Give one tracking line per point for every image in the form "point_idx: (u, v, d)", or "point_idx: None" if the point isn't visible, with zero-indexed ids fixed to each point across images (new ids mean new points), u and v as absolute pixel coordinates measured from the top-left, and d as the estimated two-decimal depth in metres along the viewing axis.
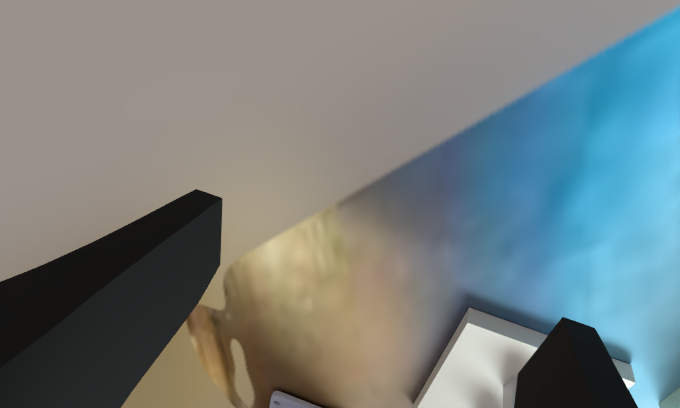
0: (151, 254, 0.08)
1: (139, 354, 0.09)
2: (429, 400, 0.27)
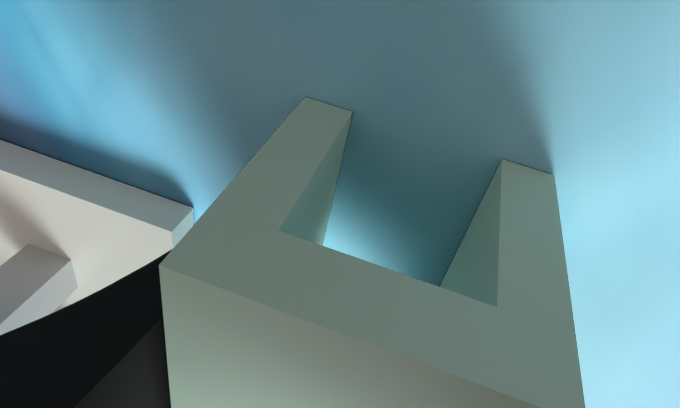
0: None
1: None
2: None
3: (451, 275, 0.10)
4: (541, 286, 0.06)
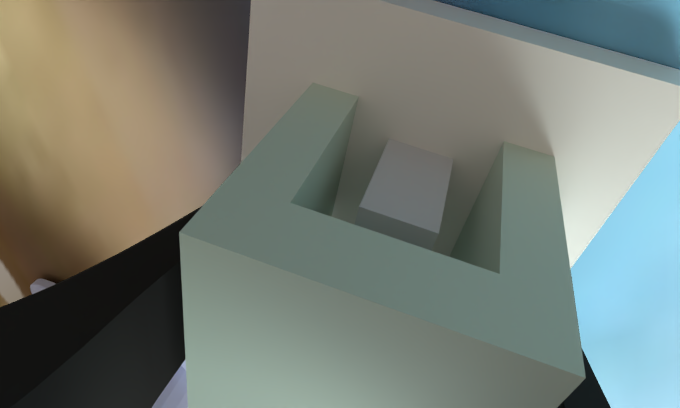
0: (179, 264, 0.08)
1: (164, 364, 0.08)
2: None
3: (454, 256, 0.10)
4: (542, 256, 0.07)
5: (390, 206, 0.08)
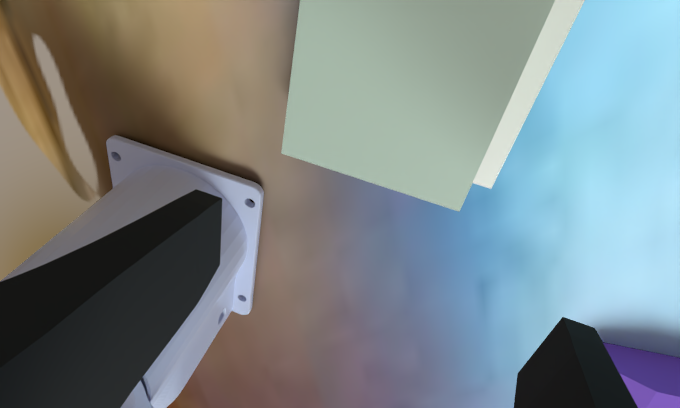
0: (151, 254, 0.08)
1: (139, 354, 0.09)
2: None
3: None
4: None
5: None
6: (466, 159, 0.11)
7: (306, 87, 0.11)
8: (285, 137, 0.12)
